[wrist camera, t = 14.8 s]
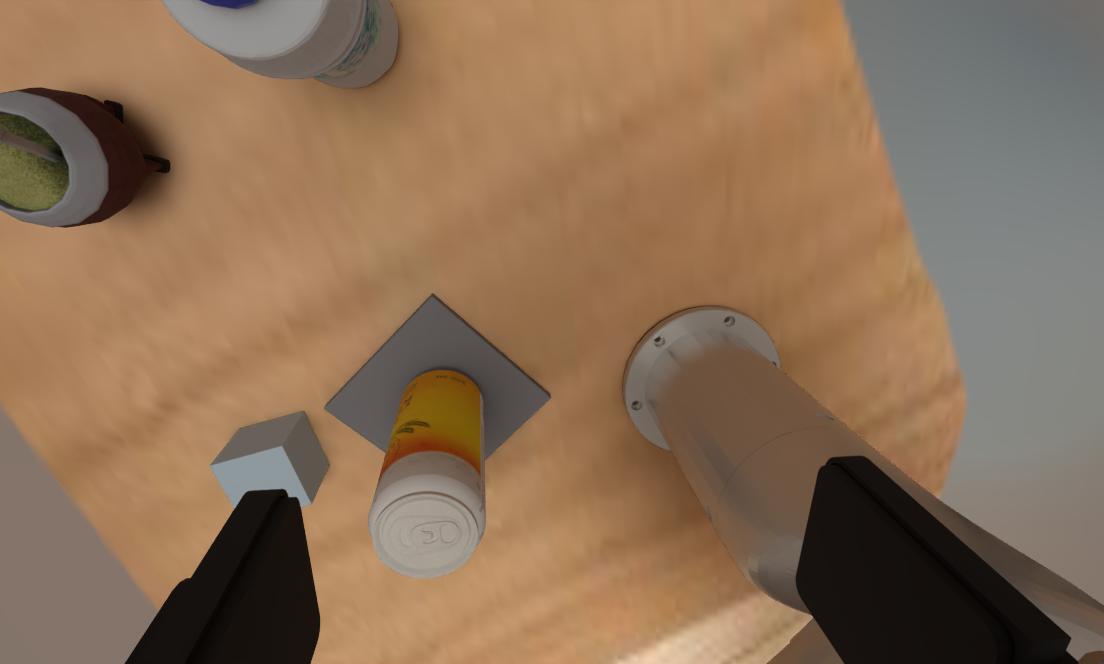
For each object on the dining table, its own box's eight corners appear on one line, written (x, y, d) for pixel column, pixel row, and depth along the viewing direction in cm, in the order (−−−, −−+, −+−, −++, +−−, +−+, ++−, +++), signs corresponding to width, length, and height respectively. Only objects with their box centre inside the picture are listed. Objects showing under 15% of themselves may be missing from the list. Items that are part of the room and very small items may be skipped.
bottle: (274, -19, 33) (-7, -204, 14) (388, -42, 33) (260, -255, 14) (315, 104, 35) (122, 84, 16) (420, 82, 35) (348, 38, 17)
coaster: (549, 394, 44) (550, 397, 43) (447, 491, 46) (446, 496, 46) (432, 293, 40) (431, 296, 40) (326, 404, 42) (323, 408, 42)
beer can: (397, 368, 41) (355, 494, 27) (480, 362, 42) (482, 482, 28) (406, 440, 43) (372, 591, 29) (485, 433, 44) (489, 578, 30)
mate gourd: (54, 197, 35) (-228, 247, 21) (48, 63, 33) (-275, 21, 19) (183, 224, 37) (-3, 287, 23) (187, 97, 34) (-19, 81, 20)
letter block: (239, 427, 42) (209, 465, 38) (304, 410, 42) (282, 445, 38) (269, 482, 44) (243, 525, 39) (330, 465, 44) (312, 506, 40)
